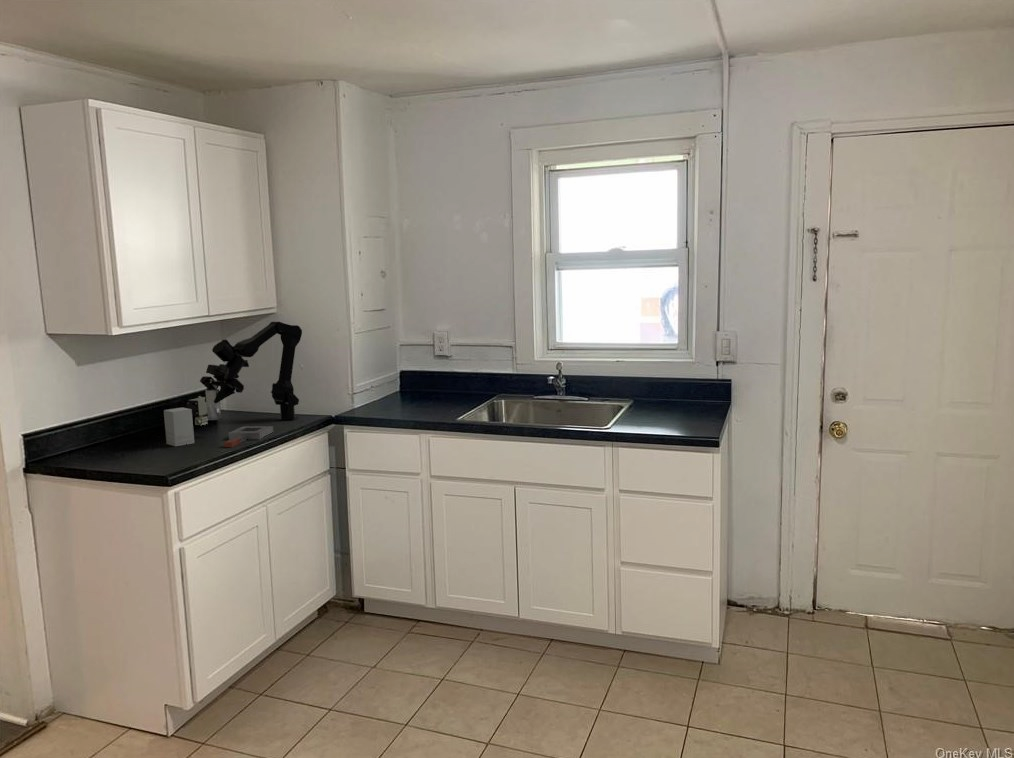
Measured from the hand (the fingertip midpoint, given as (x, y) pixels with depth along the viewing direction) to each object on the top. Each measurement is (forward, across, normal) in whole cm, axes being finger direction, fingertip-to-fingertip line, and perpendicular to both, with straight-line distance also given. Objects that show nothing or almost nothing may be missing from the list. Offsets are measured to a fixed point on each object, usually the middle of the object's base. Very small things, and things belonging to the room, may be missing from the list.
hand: (210, 402), depth 293 cm
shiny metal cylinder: (+4, 0, +6) cm, 7 cm away
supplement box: (+19, -1, 0) cm, 19 cm away
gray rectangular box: (+8, +15, +10) cm, 20 cm away
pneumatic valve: (0, -24, +19) cm, 31 cm away
